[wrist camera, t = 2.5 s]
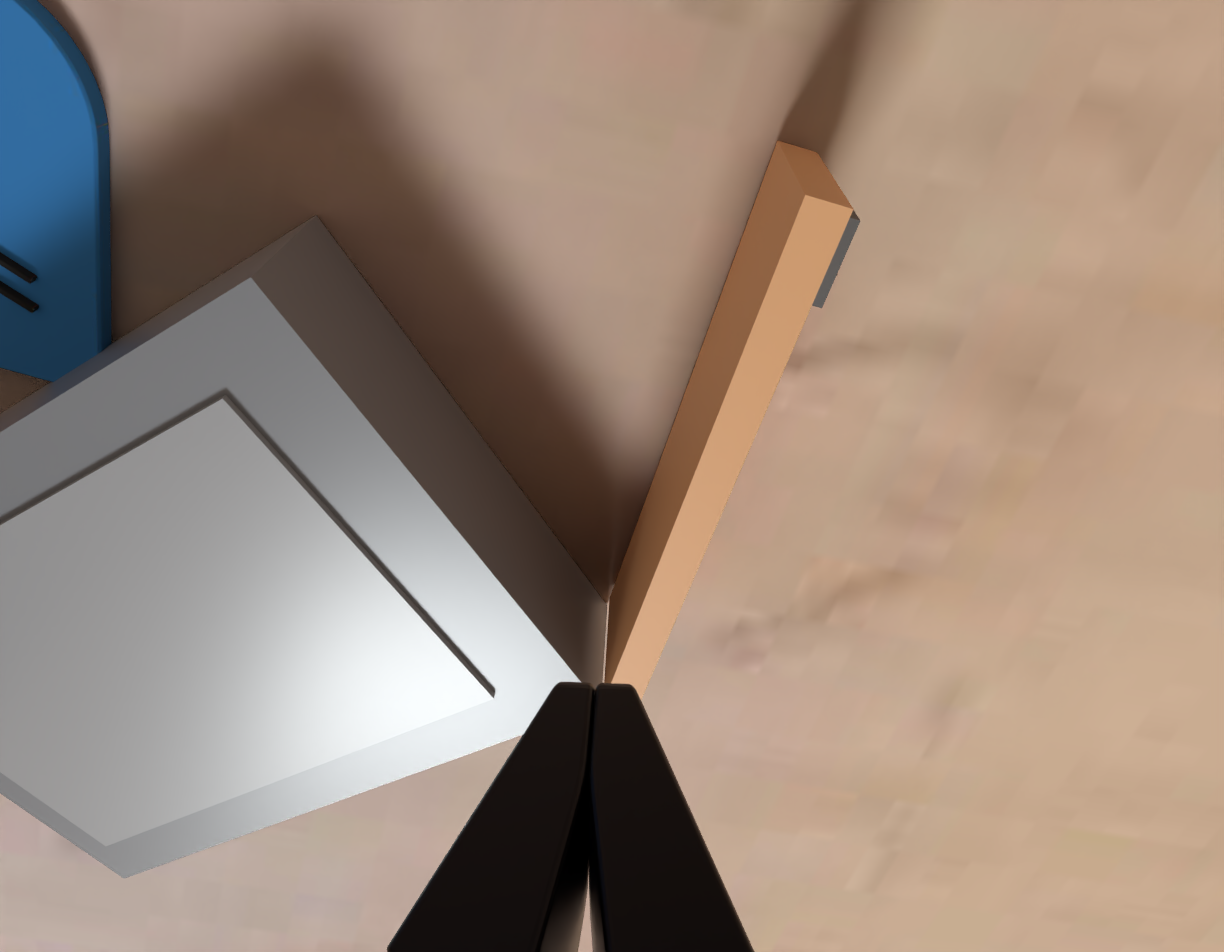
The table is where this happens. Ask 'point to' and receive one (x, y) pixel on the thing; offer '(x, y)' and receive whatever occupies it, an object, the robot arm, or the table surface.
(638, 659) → the case door
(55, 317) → the handheld gaming device
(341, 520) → the case
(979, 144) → the table surface
